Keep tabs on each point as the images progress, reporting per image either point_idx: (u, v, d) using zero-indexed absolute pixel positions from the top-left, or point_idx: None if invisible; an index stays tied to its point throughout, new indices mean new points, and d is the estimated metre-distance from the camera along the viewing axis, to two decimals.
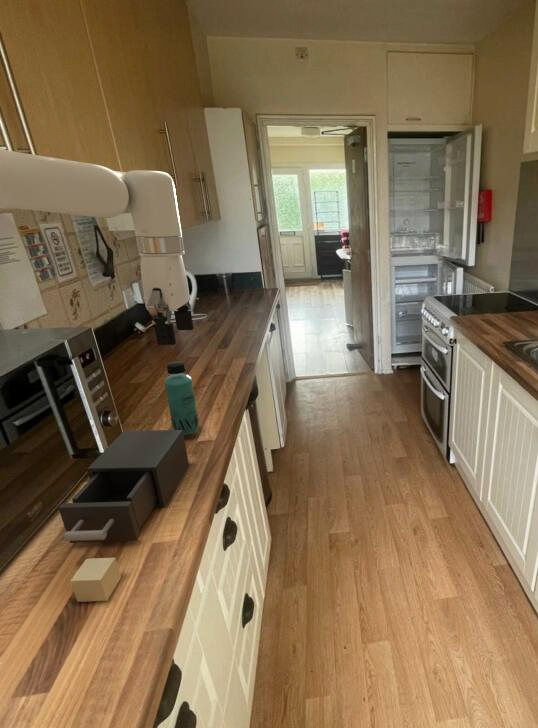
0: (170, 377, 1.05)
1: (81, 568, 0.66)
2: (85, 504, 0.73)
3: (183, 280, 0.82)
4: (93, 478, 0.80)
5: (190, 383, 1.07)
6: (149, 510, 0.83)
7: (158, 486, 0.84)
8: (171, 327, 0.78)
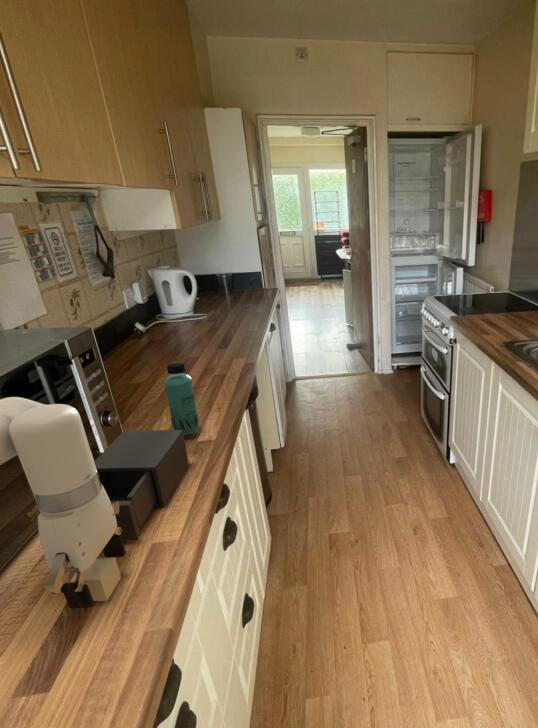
0: (170, 377, 1.05)
1: None
2: None
3: (104, 517, 0.64)
4: None
5: (190, 383, 1.07)
6: (150, 509, 0.83)
7: (158, 486, 0.84)
8: (85, 591, 0.61)
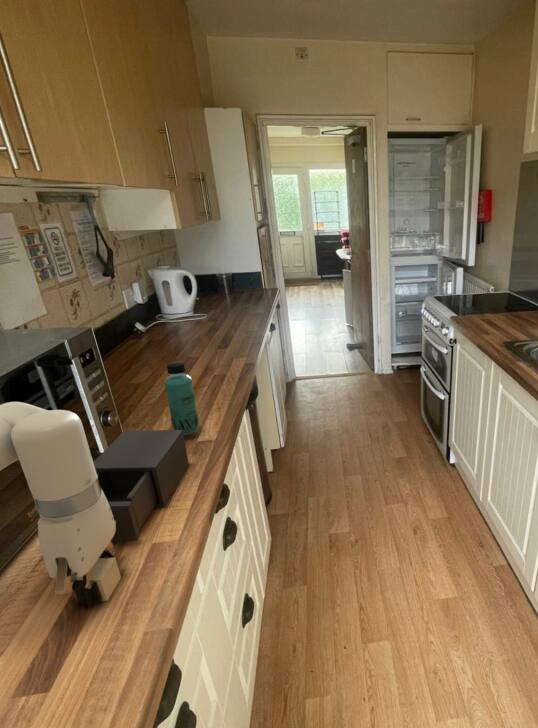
0: (170, 377, 1.05)
1: None
2: None
3: (103, 522, 0.65)
4: None
5: (190, 383, 1.07)
6: (150, 510, 0.83)
7: (158, 486, 0.84)
8: (94, 588, 0.64)
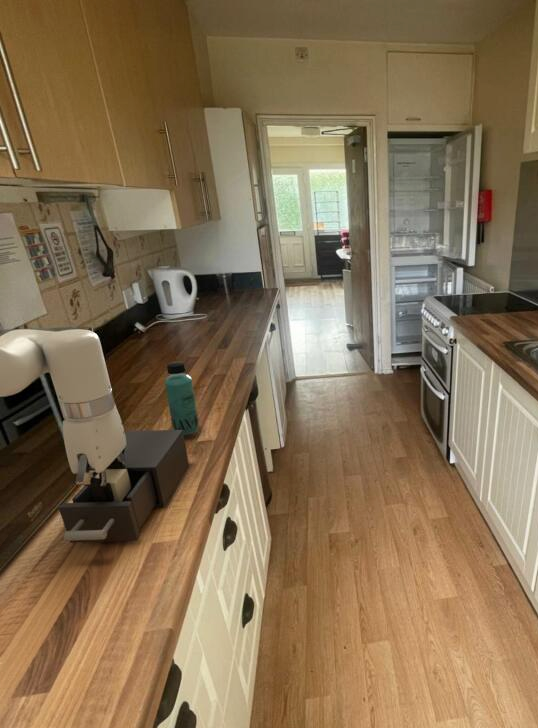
0: (170, 377, 1.05)
1: (98, 475, 0.77)
2: (85, 504, 0.73)
3: (116, 432, 0.76)
4: None
5: (190, 383, 1.07)
6: (150, 510, 0.83)
7: (158, 486, 0.84)
8: (108, 487, 0.75)
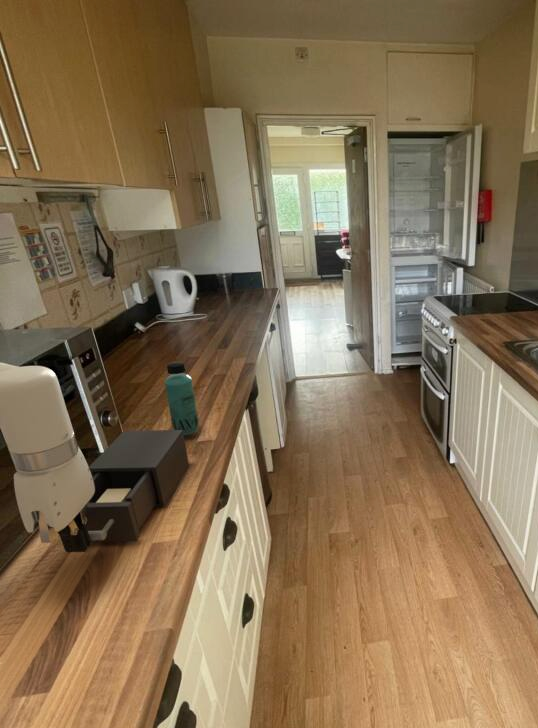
0: (170, 377, 1.05)
1: (103, 495, 0.79)
2: None
3: (81, 480, 0.66)
4: (93, 478, 0.80)
5: (190, 383, 1.07)
6: (149, 510, 0.83)
7: (158, 486, 0.84)
8: (80, 535, 0.67)
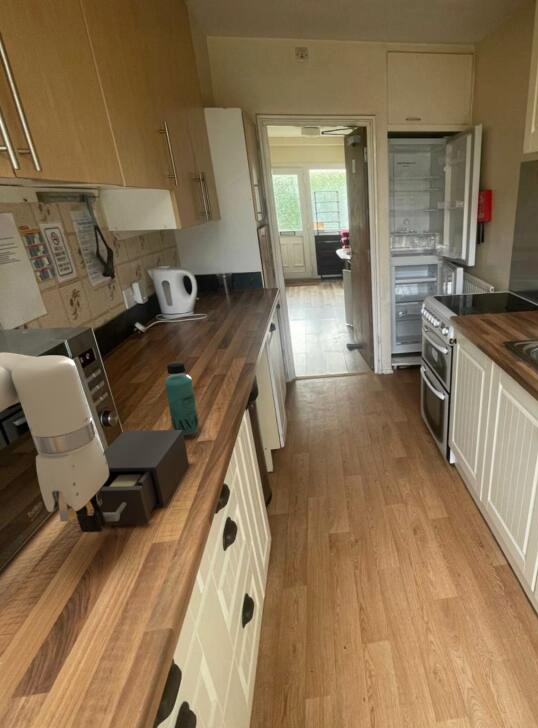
0: (170, 377, 1.05)
1: (115, 480, 0.83)
2: None
3: (97, 464, 0.70)
4: None
5: (190, 383, 1.07)
6: None
7: (158, 486, 0.84)
8: (96, 516, 0.71)
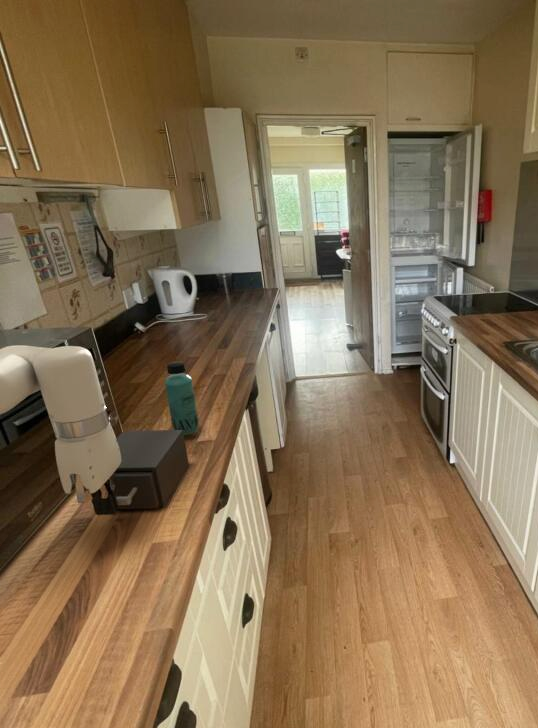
0: (170, 377, 1.05)
1: None
2: None
3: (110, 450, 0.74)
4: None
5: (190, 383, 1.07)
6: None
7: (158, 486, 0.84)
8: (109, 499, 0.75)
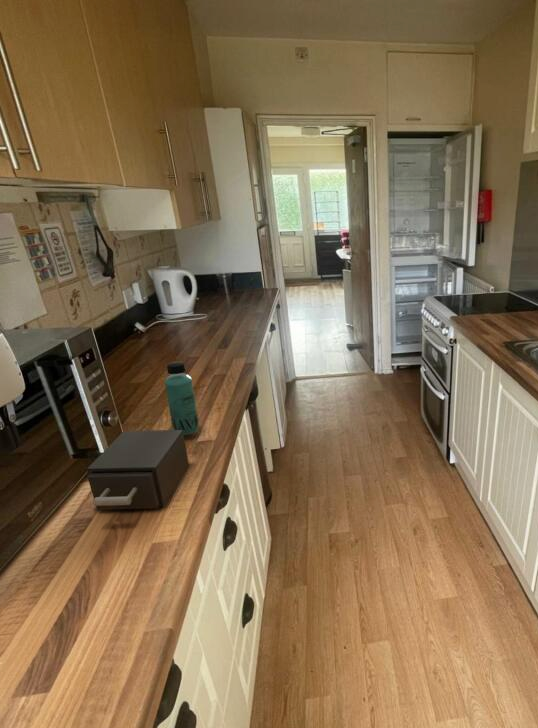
0: (170, 377, 1.05)
1: None
2: (111, 474, 0.81)
3: (5, 371, 0.61)
4: None
5: (190, 383, 1.07)
6: None
7: (158, 486, 0.84)
8: (6, 431, 0.63)
